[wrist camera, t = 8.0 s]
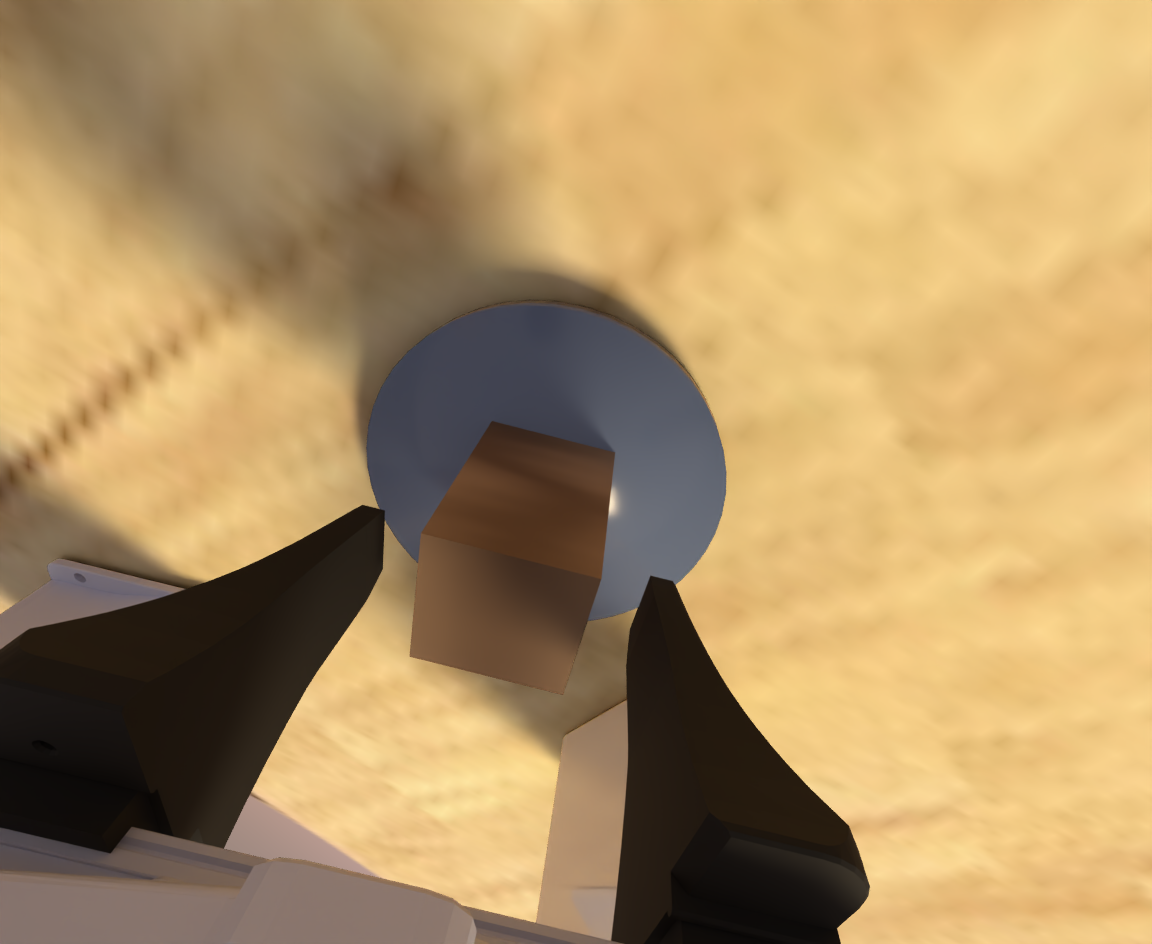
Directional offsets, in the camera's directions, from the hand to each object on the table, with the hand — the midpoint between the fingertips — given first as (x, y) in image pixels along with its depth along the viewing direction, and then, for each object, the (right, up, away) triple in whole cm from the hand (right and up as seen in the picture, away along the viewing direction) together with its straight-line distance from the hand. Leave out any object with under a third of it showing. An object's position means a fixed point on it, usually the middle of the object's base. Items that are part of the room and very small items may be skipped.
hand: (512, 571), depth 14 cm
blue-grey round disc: (+1, +3, +4) cm, 5 cm away
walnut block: (+1, +2, +4) cm, 4 cm away
